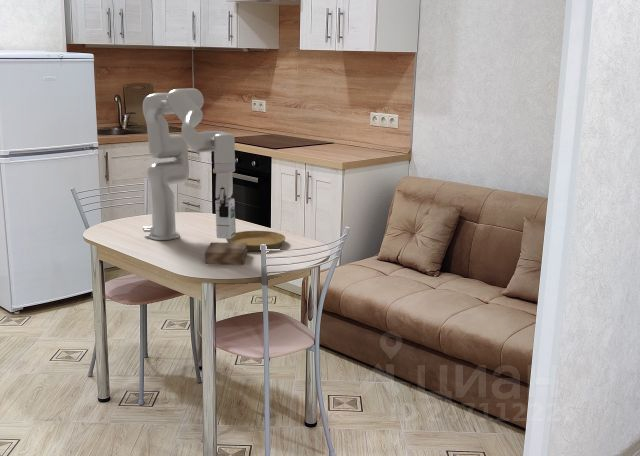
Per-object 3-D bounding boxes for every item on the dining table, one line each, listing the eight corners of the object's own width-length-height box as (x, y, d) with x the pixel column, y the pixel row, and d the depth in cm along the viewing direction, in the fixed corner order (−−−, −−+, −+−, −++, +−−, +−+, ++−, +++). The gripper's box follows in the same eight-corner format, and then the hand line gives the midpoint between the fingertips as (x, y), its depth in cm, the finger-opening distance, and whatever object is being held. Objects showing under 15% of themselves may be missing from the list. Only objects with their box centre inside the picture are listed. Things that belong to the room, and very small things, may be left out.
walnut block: (205, 265, 266) (205, 252, 265) (211, 254, 279) (210, 242, 278) (243, 265, 266) (243, 252, 265) (247, 255, 279) (246, 242, 278)
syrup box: (231, 239, 267) (230, 200, 264) (215, 238, 268) (215, 200, 265) (235, 235, 273) (235, 197, 269) (221, 234, 274) (220, 197, 270)
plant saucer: (255, 234, 310) (255, 227, 309) (297, 244, 295) (297, 236, 294) (213, 245, 292) (213, 237, 291) (256, 256, 277) (256, 248, 276)
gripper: (219, 163, 272) (220, 209, 277) (209, 170, 256) (210, 220, 260) (238, 163, 272) (239, 210, 277) (230, 171, 255) (231, 220, 260)
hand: (225, 214), depth 268 cm, fingers closed on syrup box, 6 cm apart
